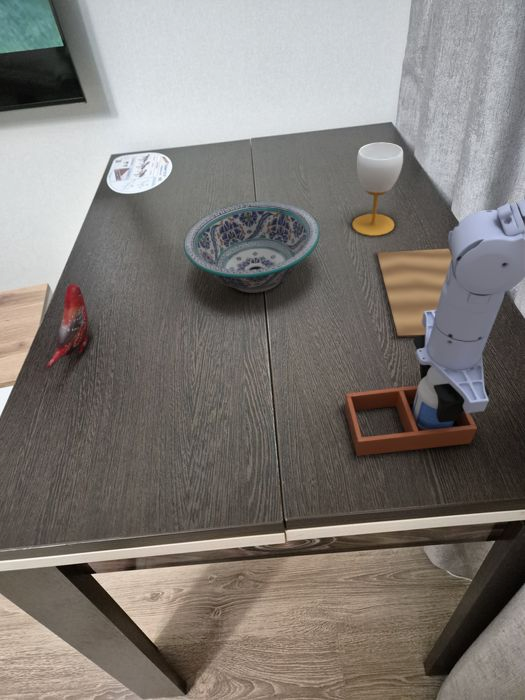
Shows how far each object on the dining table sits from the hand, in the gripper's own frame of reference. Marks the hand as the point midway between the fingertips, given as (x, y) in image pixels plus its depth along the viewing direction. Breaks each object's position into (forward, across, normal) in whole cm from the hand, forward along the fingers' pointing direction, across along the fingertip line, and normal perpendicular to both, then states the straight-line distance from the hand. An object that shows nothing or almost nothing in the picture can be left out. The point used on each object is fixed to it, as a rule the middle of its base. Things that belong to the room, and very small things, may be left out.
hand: (437, 400), depth 57 cm
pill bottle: (+5, 0, 0) cm, 5 cm away
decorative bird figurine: (+5, -21, -54) cm, 58 cm away
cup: (+5, -52, +5) cm, 52 cm away
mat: (+5, -28, +8) cm, 29 cm away
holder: (+5, 0, -4) cm, 6 cm away
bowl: (+5, -38, -22) cm, 44 cm away
